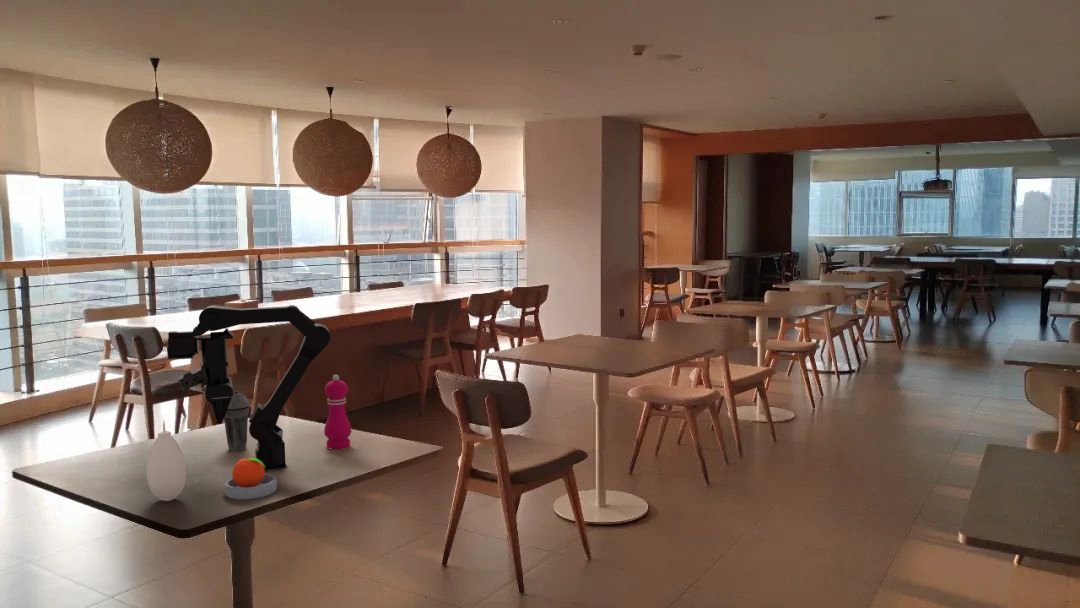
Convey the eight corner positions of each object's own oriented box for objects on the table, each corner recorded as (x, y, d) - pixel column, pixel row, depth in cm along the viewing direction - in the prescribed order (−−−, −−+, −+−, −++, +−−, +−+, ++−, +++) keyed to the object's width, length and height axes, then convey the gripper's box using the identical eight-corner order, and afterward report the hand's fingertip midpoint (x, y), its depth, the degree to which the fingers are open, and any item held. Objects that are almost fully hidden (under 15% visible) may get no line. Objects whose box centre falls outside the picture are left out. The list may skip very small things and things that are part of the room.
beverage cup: (257, 447, 224) (253, 375, 222) (234, 453, 218) (231, 380, 216) (240, 443, 228) (236, 373, 226) (217, 450, 222) (213, 377, 220)
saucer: (273, 481, 194) (272, 470, 194) (280, 495, 185) (279, 483, 184) (223, 488, 190) (223, 477, 189) (228, 502, 180) (227, 491, 180)
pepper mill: (339, 441, 229) (337, 371, 227) (357, 445, 225) (355, 373, 223) (319, 447, 224) (316, 375, 222) (336, 451, 219) (334, 378, 217)
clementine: (275, 484, 189) (273, 453, 189) (259, 493, 183) (257, 462, 182) (243, 482, 191) (242, 452, 190) (226, 491, 184) (225, 460, 184)
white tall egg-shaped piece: (141, 502, 181) (136, 422, 179) (173, 492, 188) (168, 414, 186) (162, 508, 177) (158, 426, 175) (194, 497, 183) (190, 418, 182)
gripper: (177, 354, 205) (180, 416, 206) (180, 366, 188) (184, 432, 190) (224, 351, 210) (227, 411, 211) (231, 361, 193) (235, 426, 195)
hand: (217, 420), depth 202 cm, fingers open, 9 cm apart
